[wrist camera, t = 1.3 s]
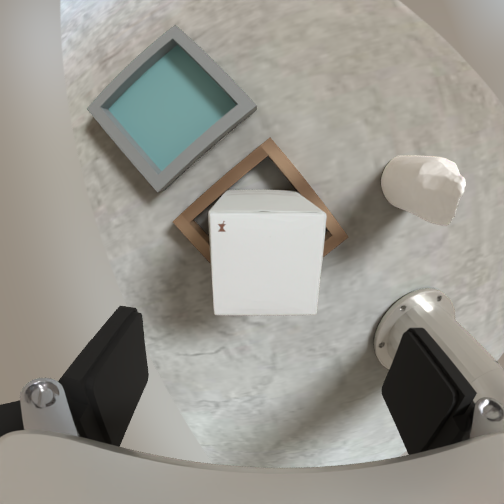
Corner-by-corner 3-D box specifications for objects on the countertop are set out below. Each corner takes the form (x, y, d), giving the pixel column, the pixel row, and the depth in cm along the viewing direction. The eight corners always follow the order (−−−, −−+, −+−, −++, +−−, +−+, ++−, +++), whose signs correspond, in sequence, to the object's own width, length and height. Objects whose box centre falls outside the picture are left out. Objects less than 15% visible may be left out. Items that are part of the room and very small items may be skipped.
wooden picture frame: (343, 232, 31) (348, 237, 29) (253, 301, 33) (253, 309, 32) (269, 138, 28) (270, 137, 26) (177, 217, 31) (172, 221, 29)
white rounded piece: (486, 236, 19) (437, 236, 19) (420, 209, 30) (377, 208, 30) (492, 163, 17) (442, 153, 17) (422, 157, 28) (379, 152, 28)
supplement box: (225, 258, 32) (209, 317, 20) (225, 188, 30) (205, 207, 18) (295, 259, 32) (317, 318, 20) (298, 189, 30) (328, 210, 18)
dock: (256, 109, 27) (256, 105, 25) (164, 189, 30) (157, 192, 27) (180, 33, 25) (175, 24, 22) (97, 111, 27) (86, 108, 25)
